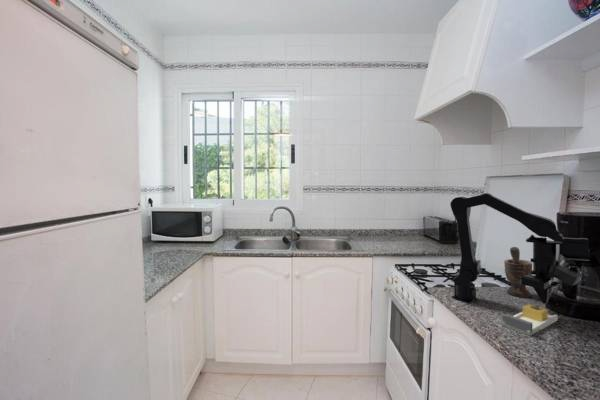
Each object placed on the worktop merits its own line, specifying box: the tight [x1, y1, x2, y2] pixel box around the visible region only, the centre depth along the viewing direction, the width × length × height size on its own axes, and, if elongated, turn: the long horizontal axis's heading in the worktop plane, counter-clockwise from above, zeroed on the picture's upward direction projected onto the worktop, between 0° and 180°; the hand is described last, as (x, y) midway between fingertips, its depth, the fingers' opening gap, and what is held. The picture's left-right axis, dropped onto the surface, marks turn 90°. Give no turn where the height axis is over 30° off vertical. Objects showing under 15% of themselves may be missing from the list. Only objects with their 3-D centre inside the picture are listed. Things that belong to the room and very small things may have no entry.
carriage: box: [522, 304, 549, 322], centre depth 88 cm, size 5×4×4 cm
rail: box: [502, 310, 559, 337], centre depth 86 cm, size 7×18×4 cm, turn 118°
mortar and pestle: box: [503, 246, 533, 298], centre depth 108 cm, size 12×9×20 cm
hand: (544, 303), depth 91 cm, fingers closed
